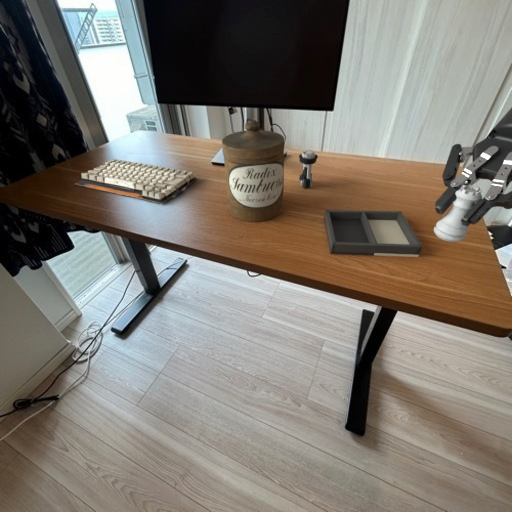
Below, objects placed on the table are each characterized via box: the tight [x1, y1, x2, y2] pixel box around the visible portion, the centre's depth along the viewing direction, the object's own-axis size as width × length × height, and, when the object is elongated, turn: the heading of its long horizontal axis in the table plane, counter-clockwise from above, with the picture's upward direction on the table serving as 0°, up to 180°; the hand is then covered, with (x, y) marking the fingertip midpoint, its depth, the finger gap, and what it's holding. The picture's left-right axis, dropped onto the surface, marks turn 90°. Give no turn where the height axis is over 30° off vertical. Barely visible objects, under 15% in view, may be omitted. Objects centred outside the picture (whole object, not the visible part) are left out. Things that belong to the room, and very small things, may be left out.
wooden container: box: [221, 119, 285, 222], centre depth 67 cm, size 15×15×22 cm
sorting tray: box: [323, 209, 424, 258], centre depth 61 cm, size 18×14×3 cm
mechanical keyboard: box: [73, 158, 197, 205], centre depth 88 cm, size 38×19×3 cm, turn 66°
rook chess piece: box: [433, 184, 483, 243], centre depth 41 cm, size 4×4×8 cm
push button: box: [298, 150, 319, 190], centre depth 81 cm, size 7×5×10 cm
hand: (451, 217), depth 40 cm, fingers closed on rook chess piece, 3 cm apart
